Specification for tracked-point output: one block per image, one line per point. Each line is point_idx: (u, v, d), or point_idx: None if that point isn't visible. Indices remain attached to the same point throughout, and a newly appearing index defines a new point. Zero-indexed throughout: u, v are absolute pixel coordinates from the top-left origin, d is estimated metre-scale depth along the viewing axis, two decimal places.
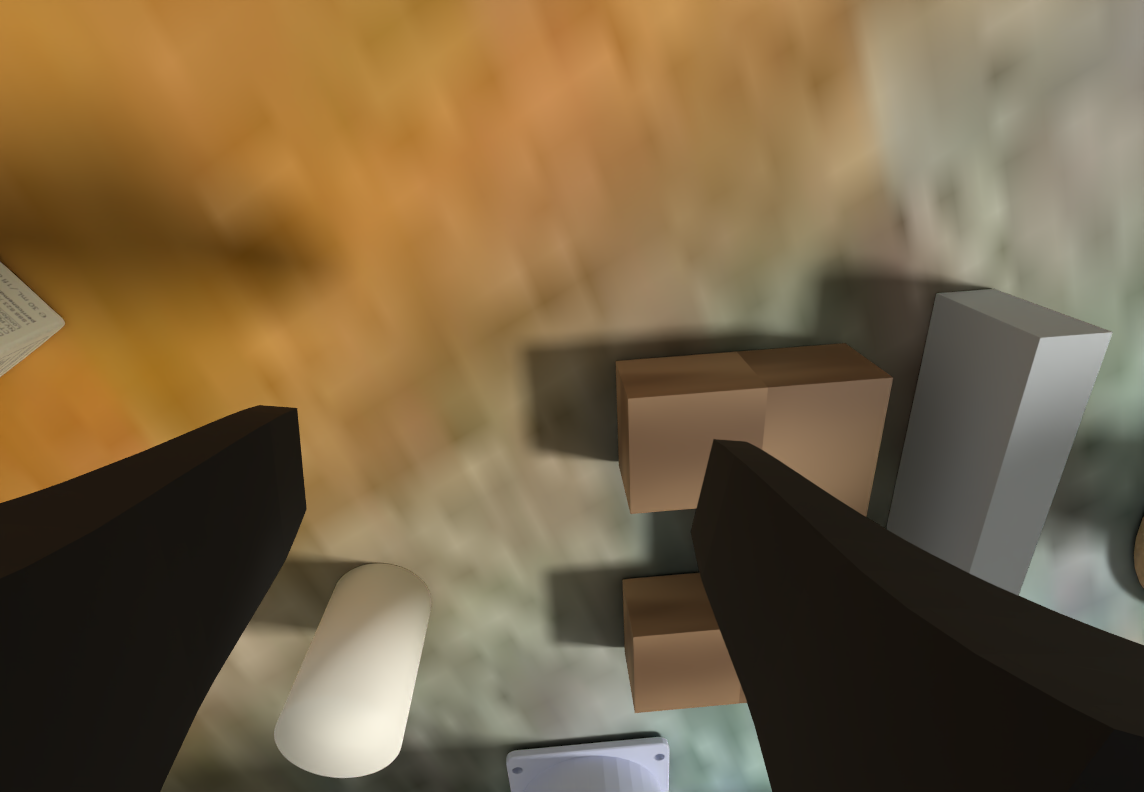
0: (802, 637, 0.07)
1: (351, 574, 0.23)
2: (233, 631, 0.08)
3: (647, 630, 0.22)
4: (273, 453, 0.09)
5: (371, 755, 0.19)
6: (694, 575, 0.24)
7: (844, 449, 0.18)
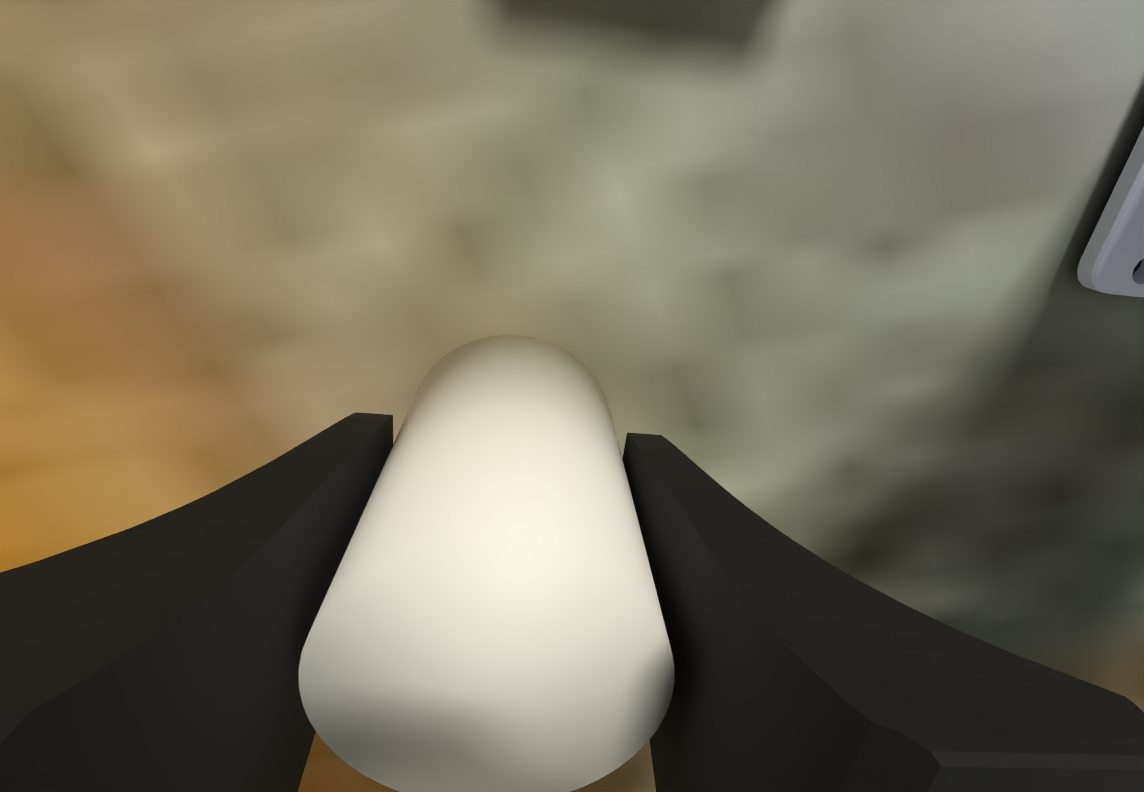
0: (679, 632, 0.07)
1: None
2: None
3: None
4: (377, 460, 0.09)
5: (588, 639, 0.06)
6: None
7: None
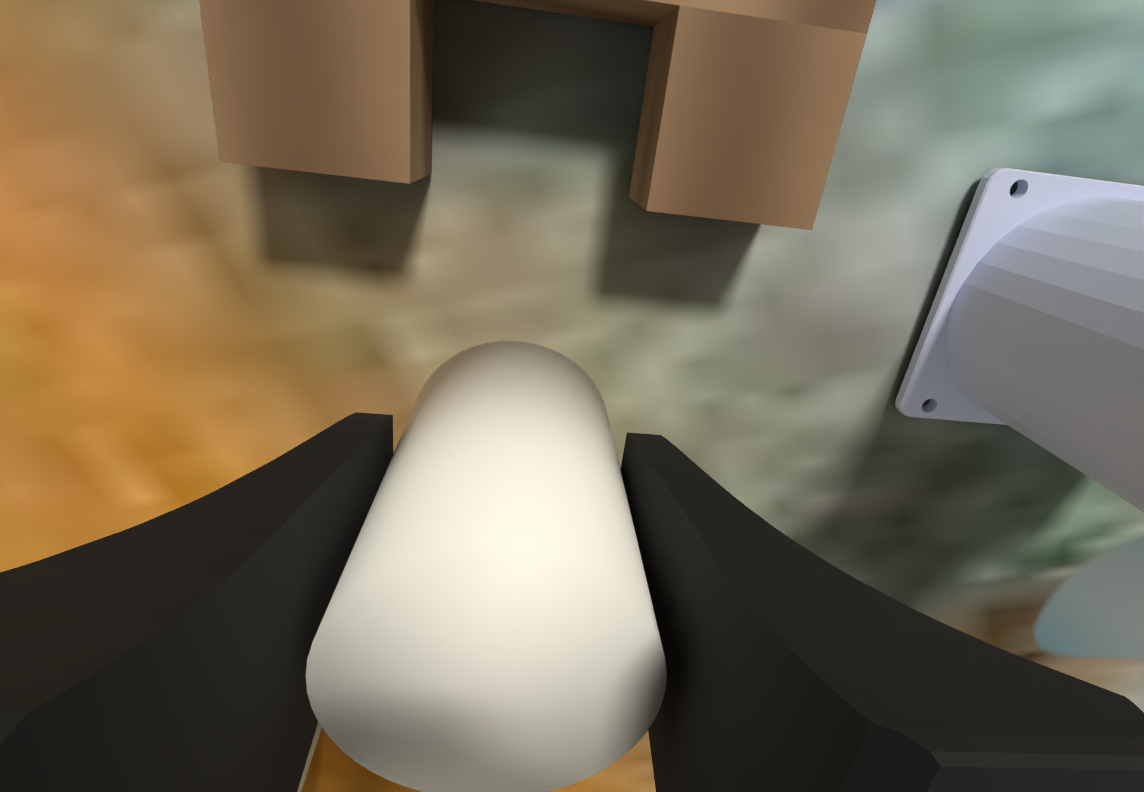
0: (679, 632, 0.07)
1: None
2: None
3: (648, 186, 0.14)
4: (377, 460, 0.09)
5: (580, 637, 0.06)
6: (646, 79, 0.15)
7: None
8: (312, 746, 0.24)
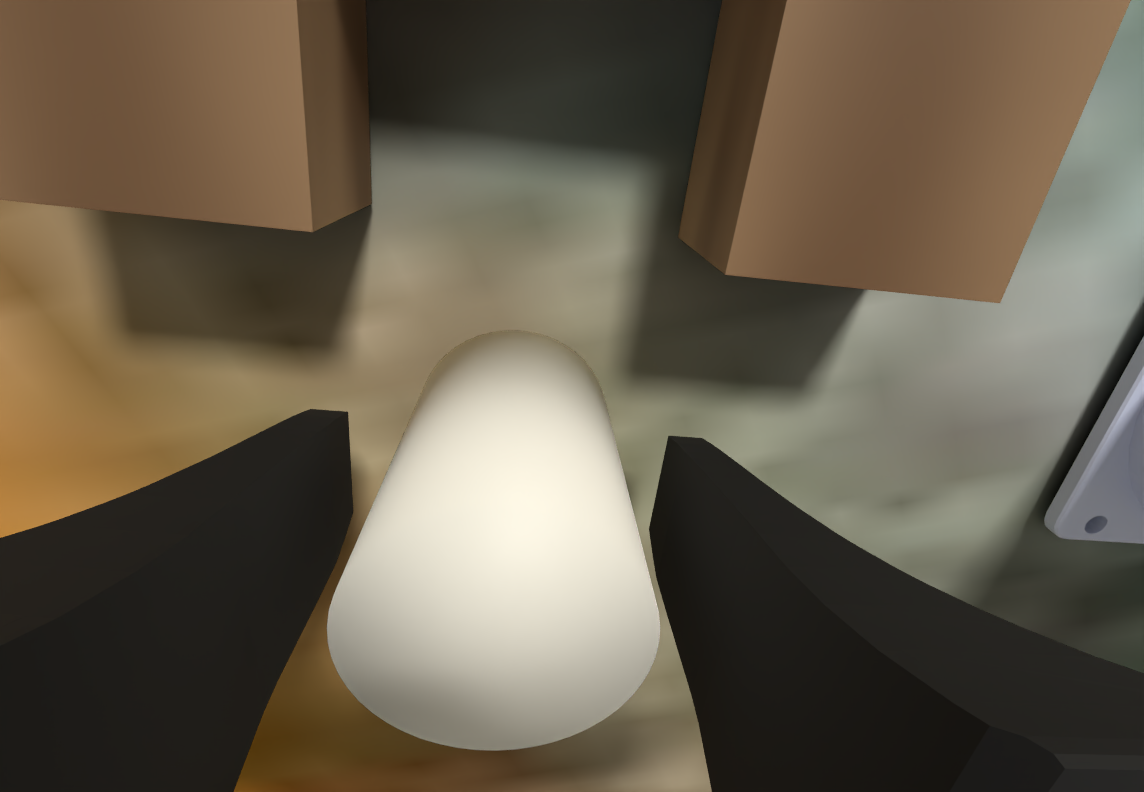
0: (739, 634, 0.07)
1: None
2: (293, 633, 0.08)
3: (728, 232, 0.08)
4: (329, 457, 0.09)
5: (580, 590, 0.07)
6: (713, 53, 0.10)
7: None
8: None
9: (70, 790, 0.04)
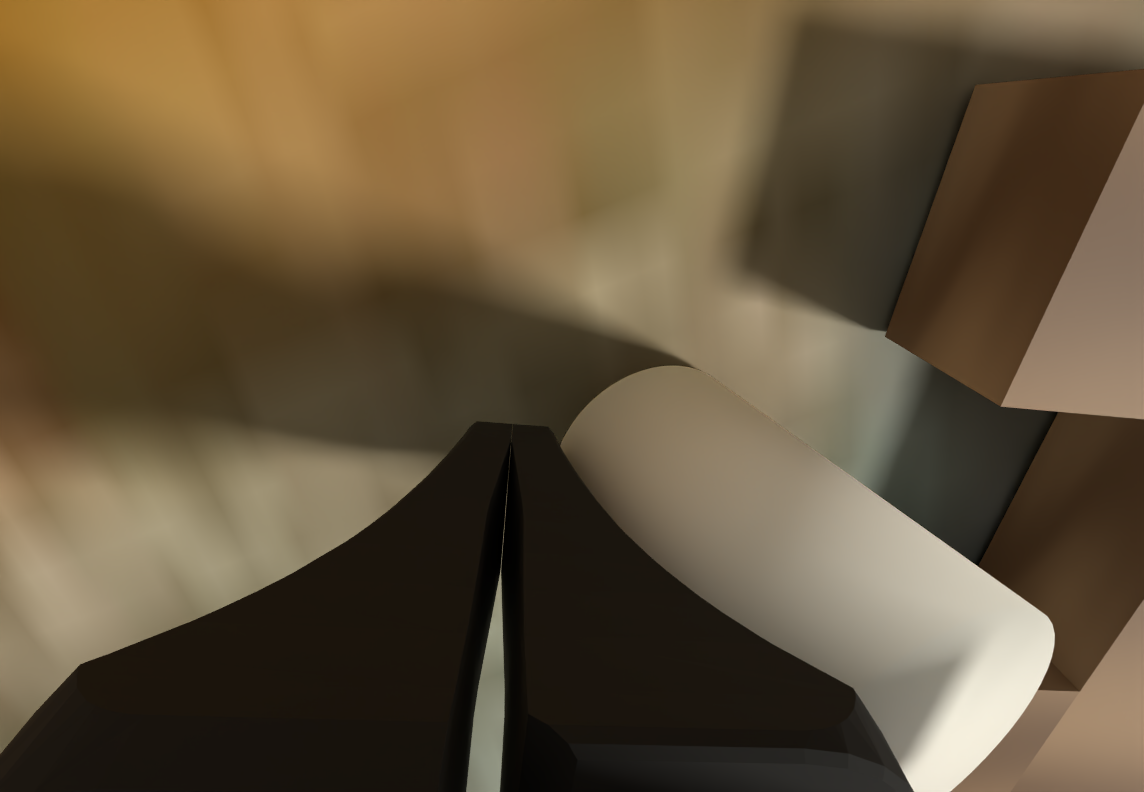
0: (514, 625, 0.07)
1: (631, 385, 0.10)
2: (485, 640, 0.08)
3: None
4: (507, 469, 0.09)
5: (936, 778, 0.07)
6: None
7: None
8: None
9: None
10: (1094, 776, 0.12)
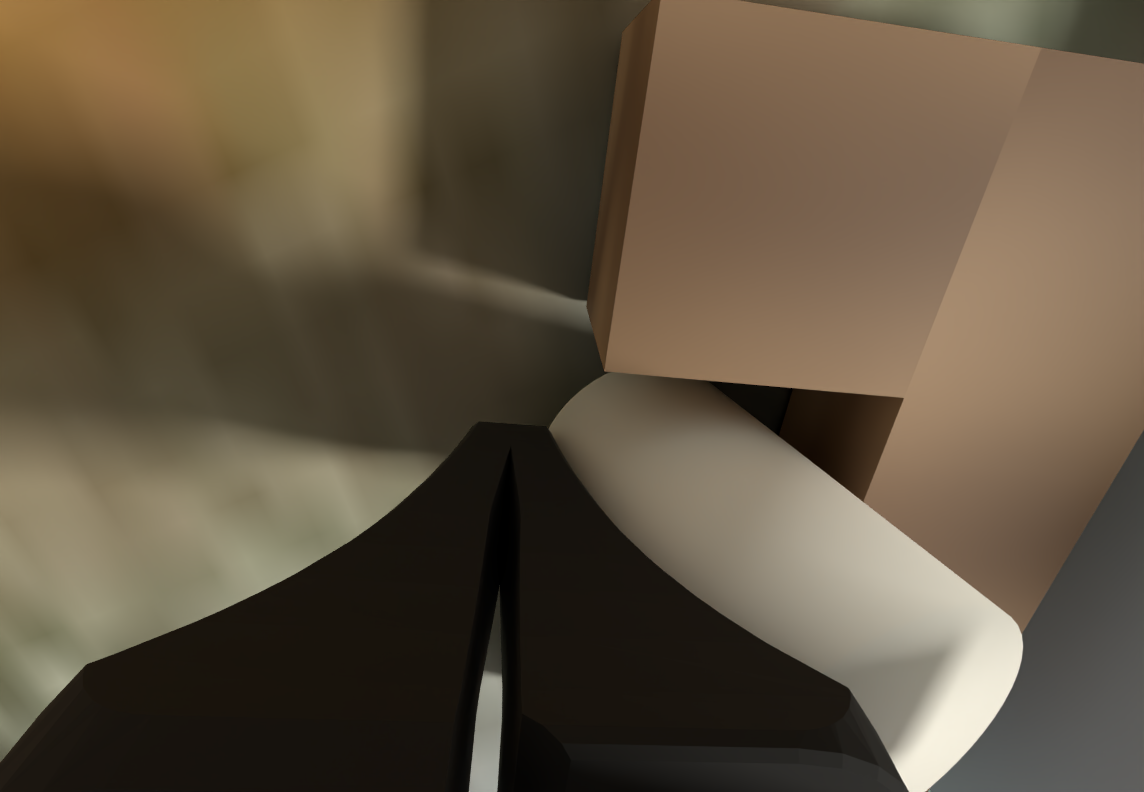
0: (511, 625, 0.07)
1: (612, 381, 0.10)
2: (487, 640, 0.08)
3: None
4: None
5: (904, 780, 0.07)
6: None
7: None
8: None
9: None
10: None
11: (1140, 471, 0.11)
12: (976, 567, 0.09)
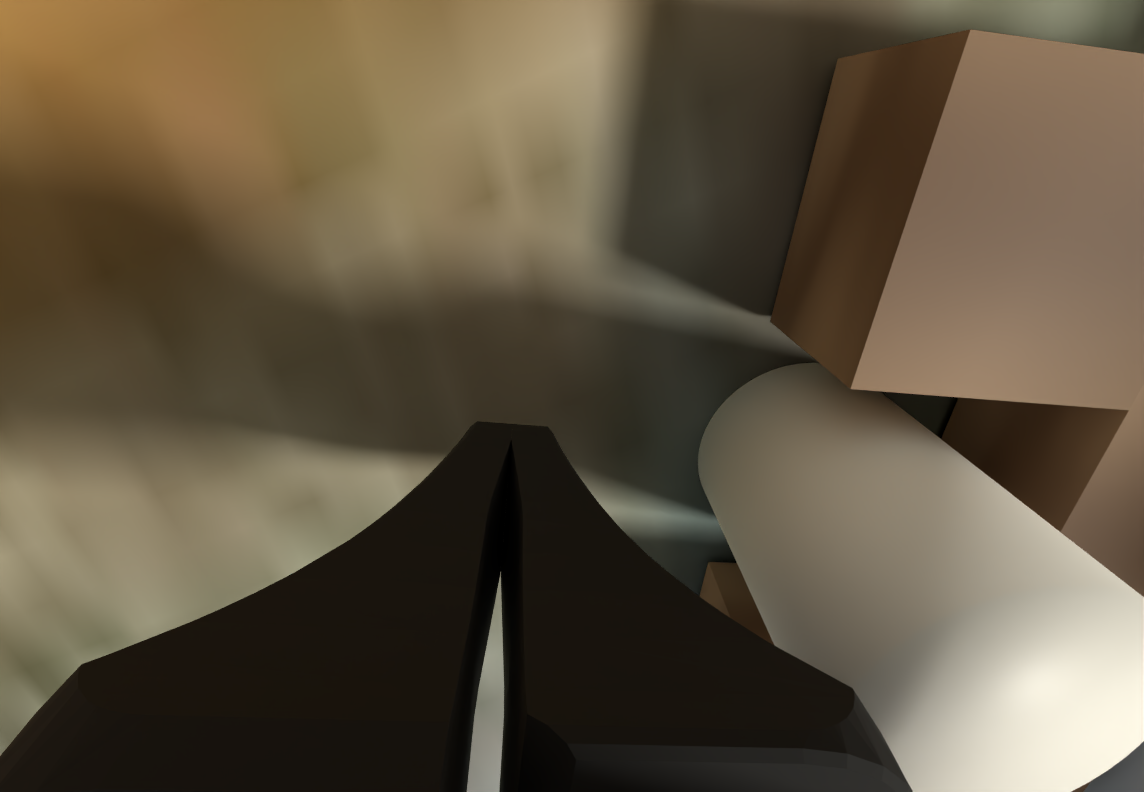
0: (514, 625, 0.07)
1: (777, 376, 0.11)
2: (485, 641, 0.08)
3: None
4: (508, 469, 0.09)
5: (1040, 770, 0.07)
6: None
7: None
8: None
9: None
10: None
11: None
12: None
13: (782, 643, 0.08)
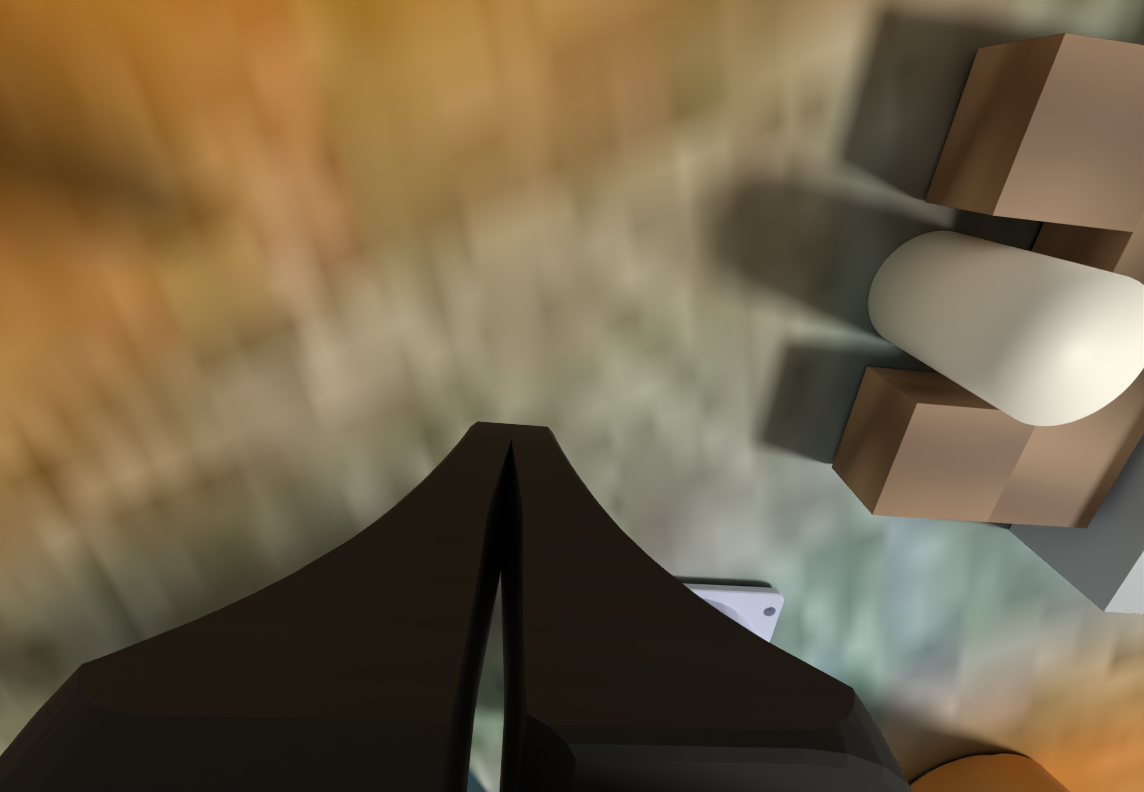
0: (514, 625, 0.07)
1: (926, 237, 0.19)
2: (485, 640, 0.08)
3: (929, 401, 0.18)
4: (508, 469, 0.09)
5: (1090, 390, 0.15)
6: None
7: None
8: None
9: None
10: (1053, 483, 0.19)
11: None
12: None
13: (957, 344, 0.16)
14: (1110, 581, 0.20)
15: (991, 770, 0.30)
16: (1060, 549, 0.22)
